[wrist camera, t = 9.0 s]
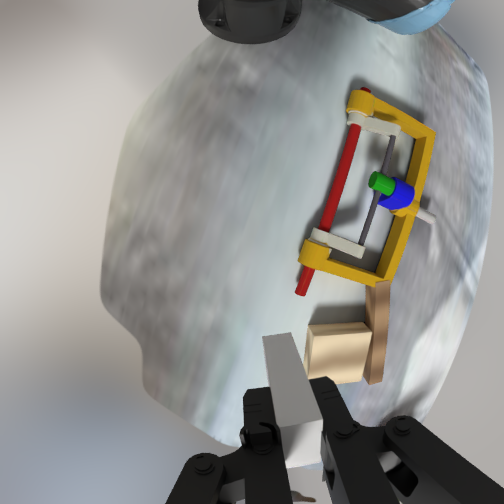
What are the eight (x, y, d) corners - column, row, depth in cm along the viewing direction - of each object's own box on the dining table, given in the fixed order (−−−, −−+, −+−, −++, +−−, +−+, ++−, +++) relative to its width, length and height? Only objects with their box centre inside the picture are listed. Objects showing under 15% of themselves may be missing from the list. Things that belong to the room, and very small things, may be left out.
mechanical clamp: (292, 302, 33) (365, 73, 28) (285, 285, 40) (349, 88, 34) (407, 331, 35) (468, 137, 29) (389, 314, 41) (444, 141, 35)
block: (307, 324, 41) (313, 336, 37) (361, 320, 42) (372, 331, 38) (301, 372, 43) (306, 387, 39) (352, 367, 43) (360, 380, 39)
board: (365, 275, 40) (375, 282, 36) (379, 273, 40) (390, 280, 36) (361, 373, 43) (369, 385, 40) (373, 370, 43) (381, 381, 40)
